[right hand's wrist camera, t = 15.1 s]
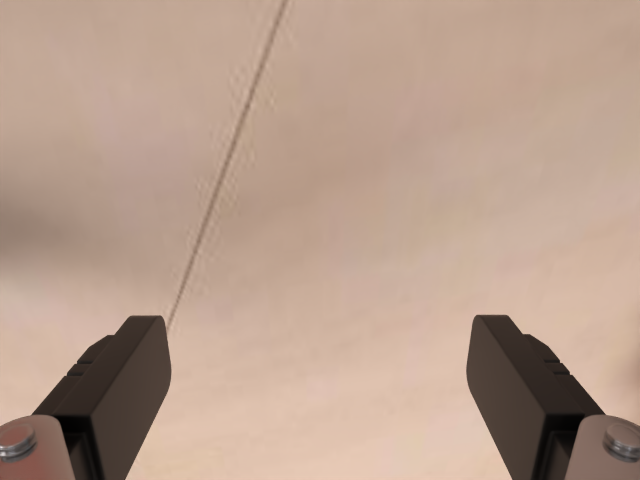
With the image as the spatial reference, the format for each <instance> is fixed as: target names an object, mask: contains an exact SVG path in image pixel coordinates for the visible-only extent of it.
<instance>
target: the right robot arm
mask: <svg viewBox="0 0 640 480" xmlns="http://www.w3.org/2000/svg"><path fill="white" fill-rule="evenodd" d="M466 372H467V381H468V386H469V389H470V392H471V394H472V396H473V398H474V400H475V402H476V404H477V406H478V408H479V411H480V413H481V415H482V417H483V419H484V421H485V423H486V425H487V427H488V429H489V431H490V434H491V436H492V438H493V440H494V442H495V444H496V446H497V448H498V450H499V452H500V455H501V457H502V459H503V461H504V463H505V465H506V467H507V469H508V471H509V473H510V475H511V478H512V480H640V426H638V425H636V424H634V423H632V422H630V421H627V420H625V419H622V418H619V417H614V416H609V415H606V414H605V413H604V412H603V411H602V409H601V408H600V407H599V406H598V405H597V404H596V402H595V401H594V400H593V399H592V398H591V396H590V395H589V394H588V393H587V392H586V391H585V389H584V388H583V387H582V386H581V385H580V383H579V382H578V381H577V380H576V379H575V378H574V376H573V375H570V372H569V370H568V369H567V368H566V367H565V366H564V365H563V363H560V360H559V359H558V357H557V356H556V355H555V354H554V353H553V352H552V350H551V349H550V348H549V347H548V346H547V345H545V344H544V343H542V342H541V341H539V340H538V339H536V338H535V337H533V336H532V335H530V334H522V333H521V331H520V330H519V329H518V327H517V326H516V325H515V324H514V322H513V321H512V320H511V319H510V317H509V316H507V315H476V316H475V317H474V320H473V324H472V331H471V338H470V345H469V352H468V359H467V369H466ZM170 381H171V362H170V355H169V348H168V341H167V334H166V327H165V322H164V319H163V317H162V316H130V317H129V318H128V319H127V320H126V321H125V322H124V324H123V325H122V326H121V327H120V329H119V330H118V331H117V332H116V334H115V335H107V336H106V337H104V338H102V339H101V340H99V341H98V342H96V343H95V344H93V345H92V346H90V347H89V348H88V349H87V350H86V351H85V353H84V354H83V355H82V356H81V357H80V358H79V360H78V361H77V364H74V365H73V367H72V368H71V369H70V370H69V371H68V373H67V376H64V377H63V378H62V380H61V381H60V382H59V383H58V384H57V385H56V387H55V388H54V389H53V390H52V391H51V392H50V394H49V395H48V396H47V397H46V398H45V399H44V401H43V402H42V403H41V404H40V405H39V407H38V408H37V409H36V410H35V411H34V412H33V414H32V415H31V416H26V417H21V418H18V419H15V420H13V421H10V422H8V423H6V424H4V425H2V426H0V480H125V479H126V477H127V475H128V473H129V471H130V469H131V466H132V464H133V462H134V460H135V458H136V456H137V454H138V452H139V450H140V448H141V446H142V444H143V442H144V440H145V438H146V435H147V433H148V431H149V429H150V427H151V425H152V423H153V421H154V419H155V417H156V415H157V413H158V411H159V409H160V406H161V404H162V402H163V400H164V398H165V396H166V394H167V392H168V389H169V386H170Z"/></svg>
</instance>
